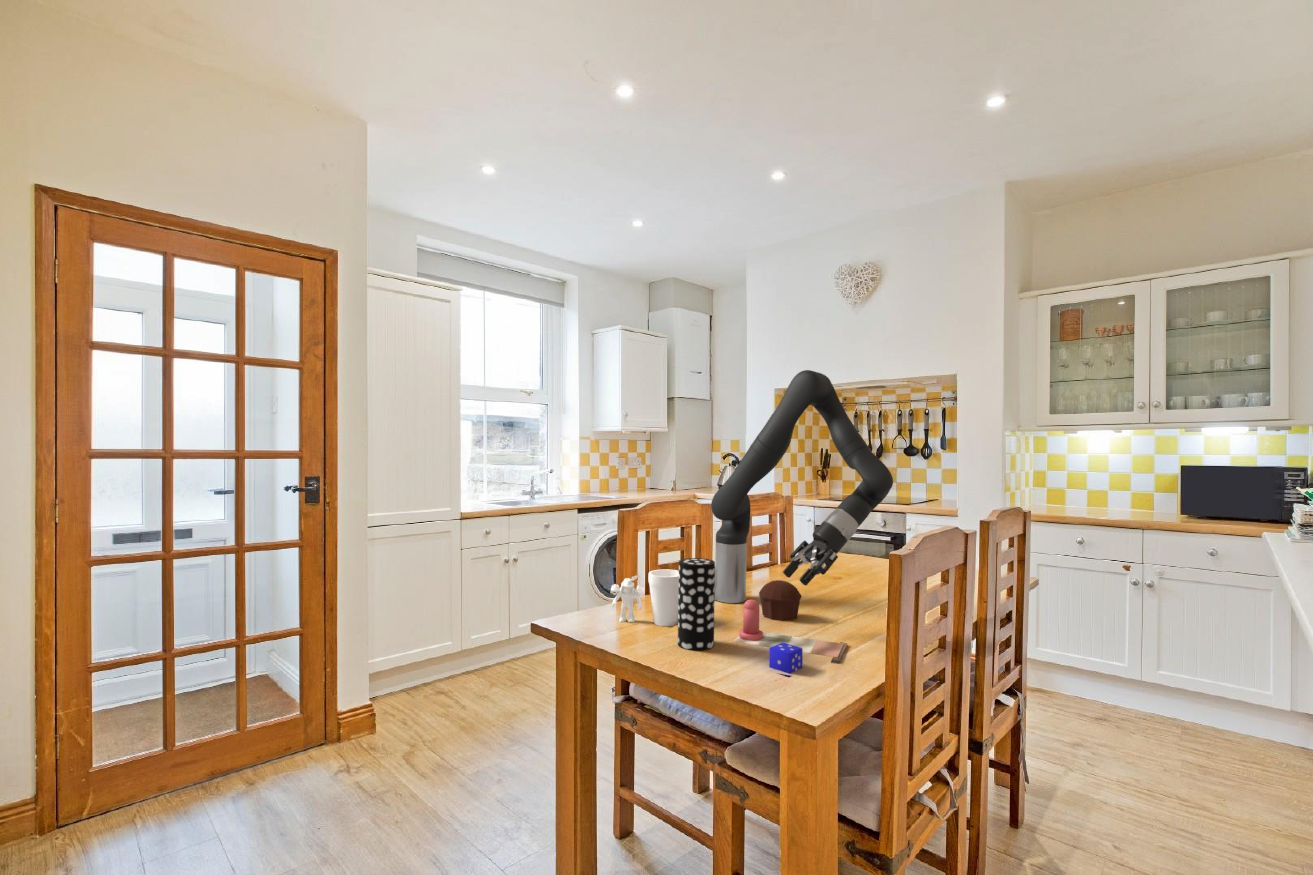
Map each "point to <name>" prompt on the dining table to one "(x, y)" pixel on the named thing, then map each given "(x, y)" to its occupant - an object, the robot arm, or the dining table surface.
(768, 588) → the muffin
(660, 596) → the foam cup
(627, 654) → the dining table surface
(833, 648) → the game track
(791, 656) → the die
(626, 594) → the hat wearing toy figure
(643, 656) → the dining table surface
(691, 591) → the white-spotted black cylinder
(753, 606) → the pawn
